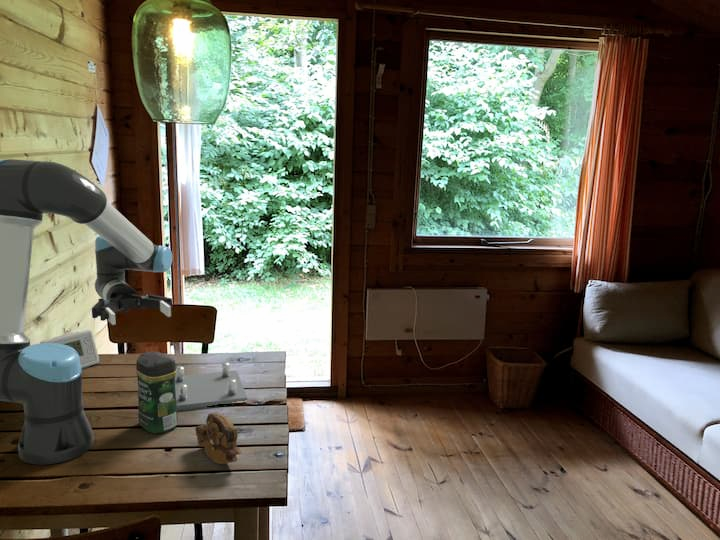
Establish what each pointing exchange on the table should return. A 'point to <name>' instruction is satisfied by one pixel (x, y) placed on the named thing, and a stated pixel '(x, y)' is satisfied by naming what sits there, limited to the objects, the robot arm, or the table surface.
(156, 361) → the coffee jar
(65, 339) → the digital clock
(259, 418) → the table surface
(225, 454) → the wooden carving
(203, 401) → the base plate
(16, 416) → the table surface
